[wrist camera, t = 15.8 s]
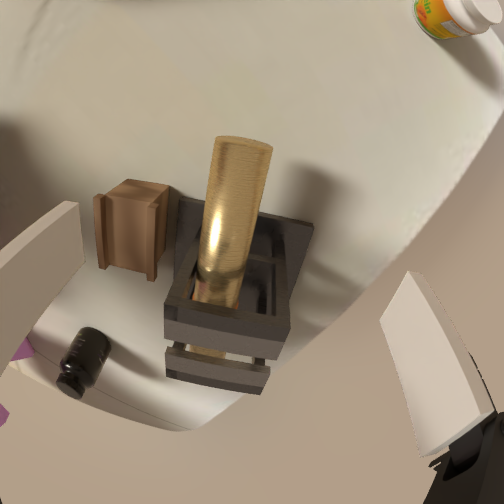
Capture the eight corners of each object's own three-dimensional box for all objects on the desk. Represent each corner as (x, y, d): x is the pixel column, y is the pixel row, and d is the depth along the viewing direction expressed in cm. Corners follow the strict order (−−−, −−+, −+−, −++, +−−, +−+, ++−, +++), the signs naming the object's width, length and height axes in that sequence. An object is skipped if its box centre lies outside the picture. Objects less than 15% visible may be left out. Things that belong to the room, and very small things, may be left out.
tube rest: (122, 240, 32) (99, 268, 27) (121, 178, 28) (93, 197, 23) (171, 251, 32) (154, 282, 27) (176, 186, 28) (155, 208, 23)
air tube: (231, 363, 31) (206, 383, 28) (205, 342, 33) (180, 359, 30) (286, 149, 19) (249, 151, 16) (240, 135, 21) (201, 136, 18)
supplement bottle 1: (119, 350, 43) (95, 404, 33) (96, 353, 45) (72, 402, 35) (95, 322, 40) (64, 378, 30) (73, 327, 42) (44, 377, 32)
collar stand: (174, 297, 36) (142, 381, 24) (182, 196, 29) (127, 268, 17) (279, 318, 36) (280, 408, 25) (312, 223, 29) (337, 311, 18)
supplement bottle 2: (413, -12, 14) (461, -37, 6) (453, 13, 15) (507, 0, 6) (408, 24, 17) (461, 5, 9) (449, 48, 17) (507, 43, 9)
